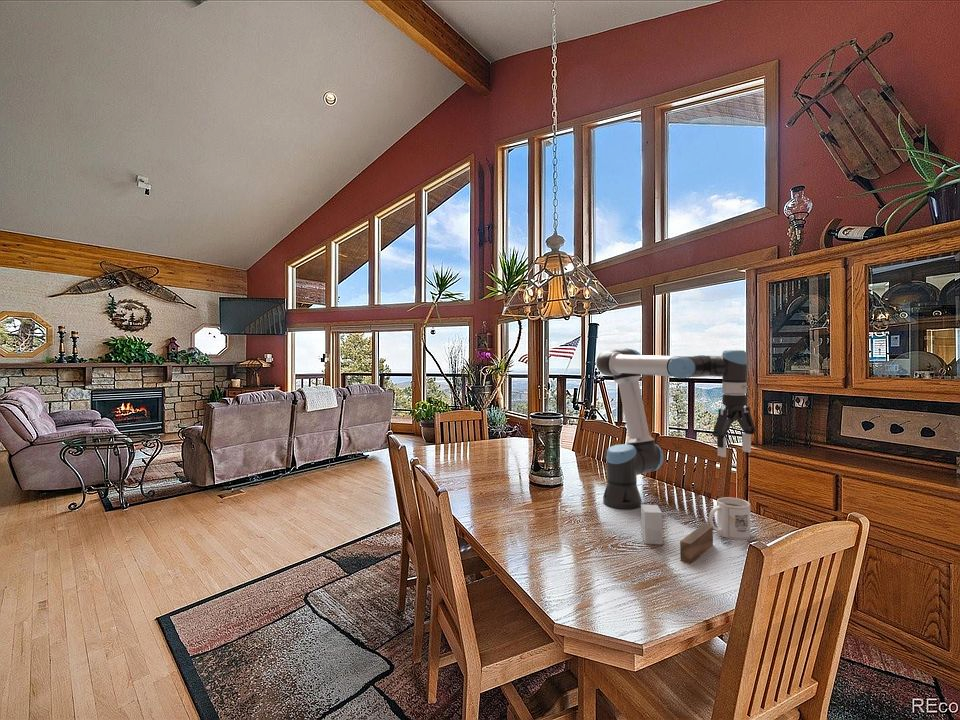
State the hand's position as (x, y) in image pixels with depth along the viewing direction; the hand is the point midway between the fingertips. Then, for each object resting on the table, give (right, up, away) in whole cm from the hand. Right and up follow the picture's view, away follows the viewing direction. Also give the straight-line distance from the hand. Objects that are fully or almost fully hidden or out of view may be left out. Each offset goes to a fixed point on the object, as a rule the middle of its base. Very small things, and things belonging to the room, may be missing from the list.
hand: (734, 454), depth 159 cm
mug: (-5, -26, -6) cm, 27 cm away
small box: (-33, -27, -9) cm, 43 cm away
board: (-23, -27, -19) cm, 40 cm away
